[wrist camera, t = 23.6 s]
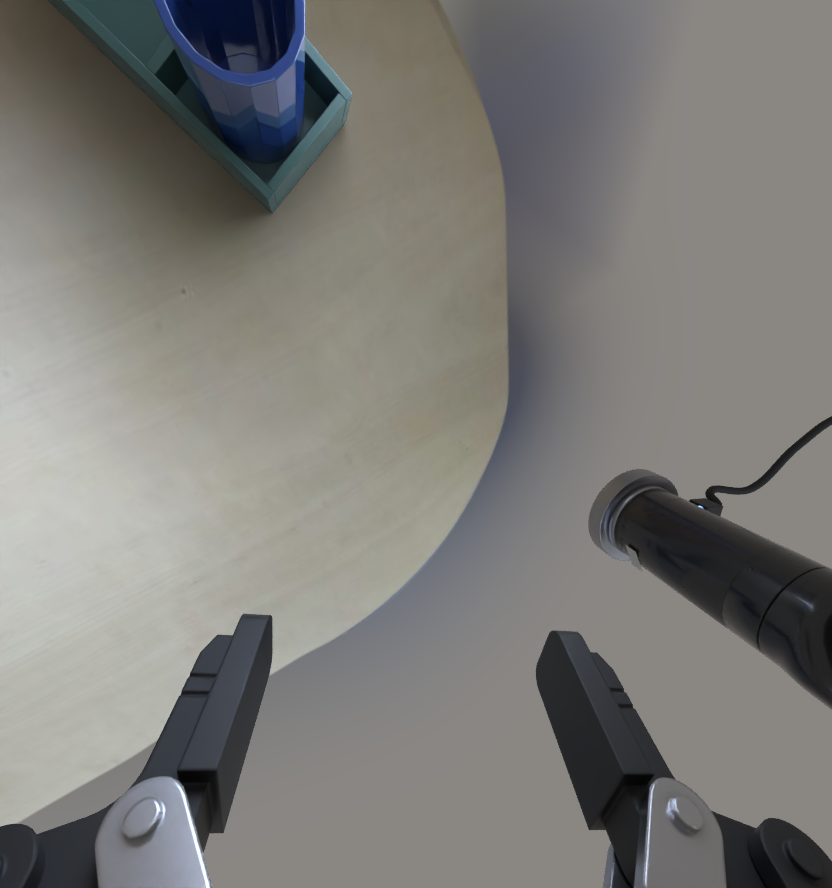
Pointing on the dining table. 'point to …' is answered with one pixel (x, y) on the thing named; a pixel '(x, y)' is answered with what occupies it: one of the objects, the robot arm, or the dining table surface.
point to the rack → (165, 81)
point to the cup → (244, 69)
